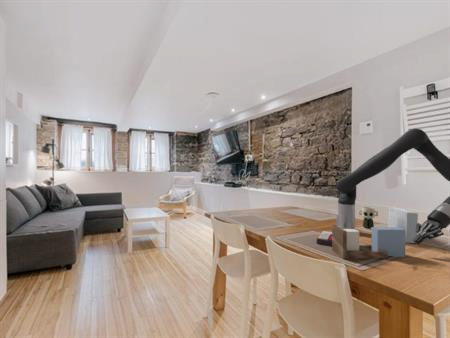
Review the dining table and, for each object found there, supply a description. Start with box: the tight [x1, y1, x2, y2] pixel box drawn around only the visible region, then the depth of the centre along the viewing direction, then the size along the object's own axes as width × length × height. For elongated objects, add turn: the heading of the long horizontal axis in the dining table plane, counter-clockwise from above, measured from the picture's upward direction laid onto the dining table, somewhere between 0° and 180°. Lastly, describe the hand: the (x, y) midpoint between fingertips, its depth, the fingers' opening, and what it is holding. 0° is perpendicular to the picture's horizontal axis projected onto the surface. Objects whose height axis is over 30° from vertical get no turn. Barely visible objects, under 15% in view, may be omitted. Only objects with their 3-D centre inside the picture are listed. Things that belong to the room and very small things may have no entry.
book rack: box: [331, 224, 389, 260], centre depth 107 cm, size 20×11×12 cm, turn 88°
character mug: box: [358, 206, 379, 229], centre depth 157 cm, size 11×7×13 cm, turn 61°
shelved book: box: [344, 228, 360, 251], centre depth 108 cm, size 7×4×11 cm, turn 88°
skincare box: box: [387, 206, 419, 244], centre depth 134 cm, size 21×6×16 cm, turn 168°
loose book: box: [371, 226, 406, 258], centre depth 107 cm, size 12×4×12 cm, turn 88°
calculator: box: [316, 230, 332, 247], centre depth 126 cm, size 11×4×15 cm
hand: (415, 242), depth 107 cm, fingers closed
